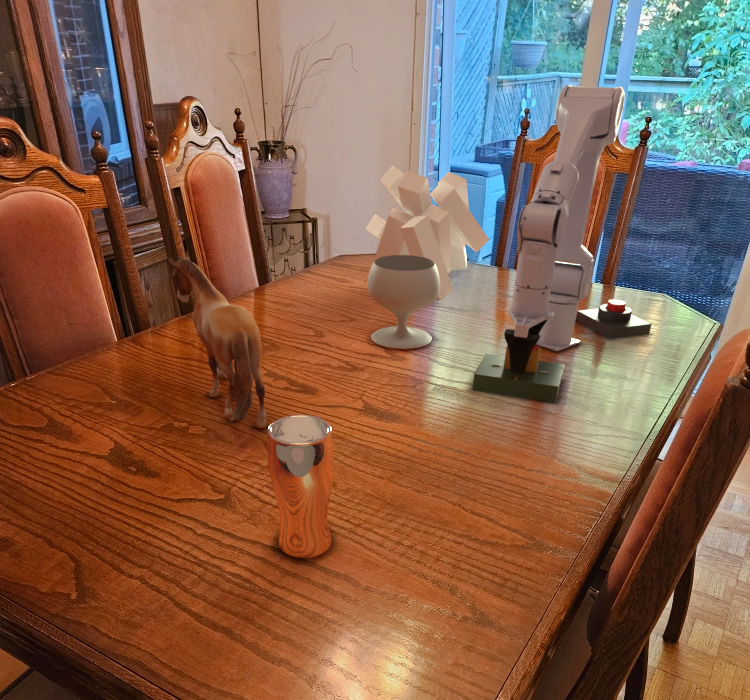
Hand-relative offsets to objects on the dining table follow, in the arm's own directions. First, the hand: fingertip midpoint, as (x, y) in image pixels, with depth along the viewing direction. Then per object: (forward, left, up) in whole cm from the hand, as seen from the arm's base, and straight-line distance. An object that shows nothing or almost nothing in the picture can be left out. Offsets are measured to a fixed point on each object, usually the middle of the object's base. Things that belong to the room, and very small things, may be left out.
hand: (520, 364), depth 114 cm
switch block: (-7, +40, -4) cm, 40 cm away
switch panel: (0, 0, -4) cm, 4 cm away
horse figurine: (-24, -46, -4) cm, 52 cm away
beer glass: (+13, -55, -4) cm, 57 cm away
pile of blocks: (-54, +30, -4) cm, 62 cm away
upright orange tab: (0, 0, -1) cm, 1 cm away
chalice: (-29, -1, -4) cm, 29 cm away
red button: (-7, +40, 0) cm, 40 cm away
